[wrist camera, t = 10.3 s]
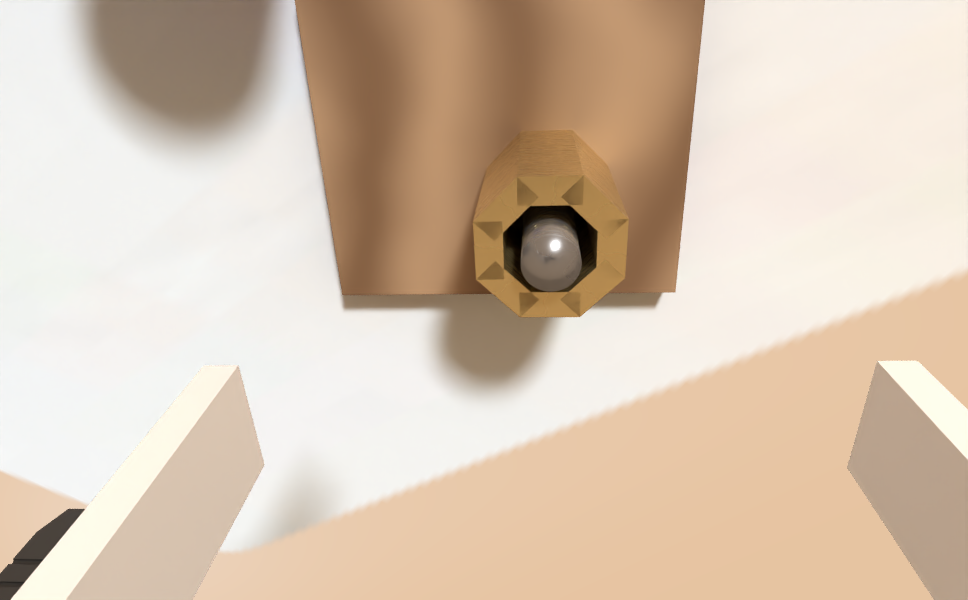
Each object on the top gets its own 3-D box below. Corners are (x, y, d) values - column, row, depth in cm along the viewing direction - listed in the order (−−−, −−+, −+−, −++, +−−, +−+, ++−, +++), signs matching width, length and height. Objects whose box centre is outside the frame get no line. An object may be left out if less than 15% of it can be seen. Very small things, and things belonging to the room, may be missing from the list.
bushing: (490, 245, 29) (478, 317, 23) (485, 132, 27) (470, 177, 21) (603, 244, 29) (622, 316, 23) (609, 128, 26) (631, 174, 20)
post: (518, 220, 29) (512, 299, 21) (516, 163, 27) (510, 227, 20) (575, 219, 28) (589, 299, 21) (577, 162, 27) (592, 226, 20)
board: (350, 282, 32) (342, 295, 31) (303, -25, 26) (290, -26, 25) (669, 278, 31) (675, 292, 30) (700, -46, 25) (709, -48, 23)
